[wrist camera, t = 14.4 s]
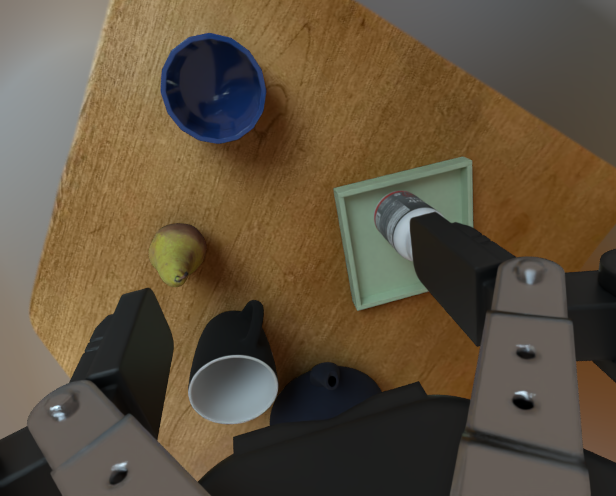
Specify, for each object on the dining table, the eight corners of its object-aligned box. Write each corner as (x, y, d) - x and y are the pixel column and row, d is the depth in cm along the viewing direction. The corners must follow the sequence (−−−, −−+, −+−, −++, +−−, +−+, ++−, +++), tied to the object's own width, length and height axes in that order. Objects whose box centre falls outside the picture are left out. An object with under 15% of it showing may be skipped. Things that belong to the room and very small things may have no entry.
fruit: (146, 221, 42) (118, 273, 32) (201, 211, 43) (192, 260, 32) (160, 267, 45) (139, 332, 34) (213, 258, 45) (208, 318, 35)
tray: (333, 188, 45) (337, 193, 43) (462, 156, 46) (472, 160, 44) (352, 302, 51) (357, 310, 49) (465, 271, 52) (474, 279, 51)
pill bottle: (429, 204, 47) (476, 236, 38) (400, 243, 48) (438, 284, 40) (391, 179, 45) (431, 207, 36) (362, 222, 46) (394, 259, 37)
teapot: (378, 443, 63) (410, 524, 52) (279, 467, 61) (290, 555, 50) (373, 308, 52) (412, 373, 41) (252, 331, 50) (259, 405, 39)
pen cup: (156, 48, 36) (145, 46, 31) (248, 29, 37) (251, 23, 32) (186, 142, 40) (180, 152, 35) (269, 123, 41) (275, 130, 36)
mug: (253, 368, 53) (259, 431, 44) (185, 352, 50) (175, 416, 41) (290, 291, 49) (305, 343, 40) (219, 269, 46) (217, 319, 37)
